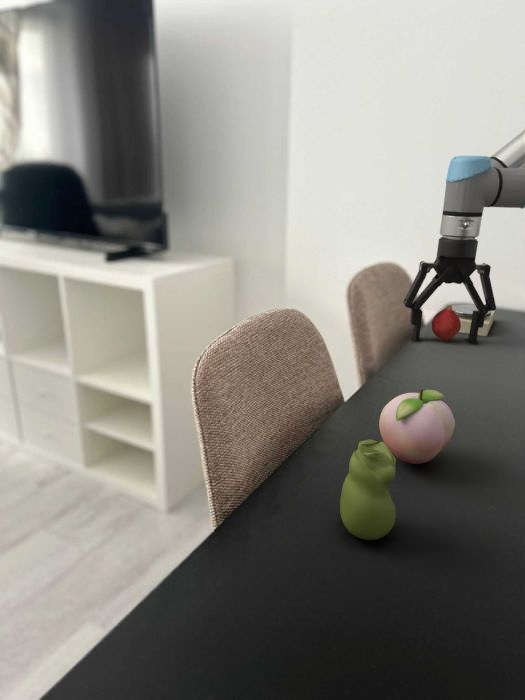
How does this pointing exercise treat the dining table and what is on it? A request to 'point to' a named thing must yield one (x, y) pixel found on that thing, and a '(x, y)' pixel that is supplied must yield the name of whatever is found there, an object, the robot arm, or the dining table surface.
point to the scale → (481, 331)
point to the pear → (369, 491)
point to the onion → (446, 324)
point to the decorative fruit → (416, 426)
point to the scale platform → (466, 310)
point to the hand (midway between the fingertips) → (443, 340)
